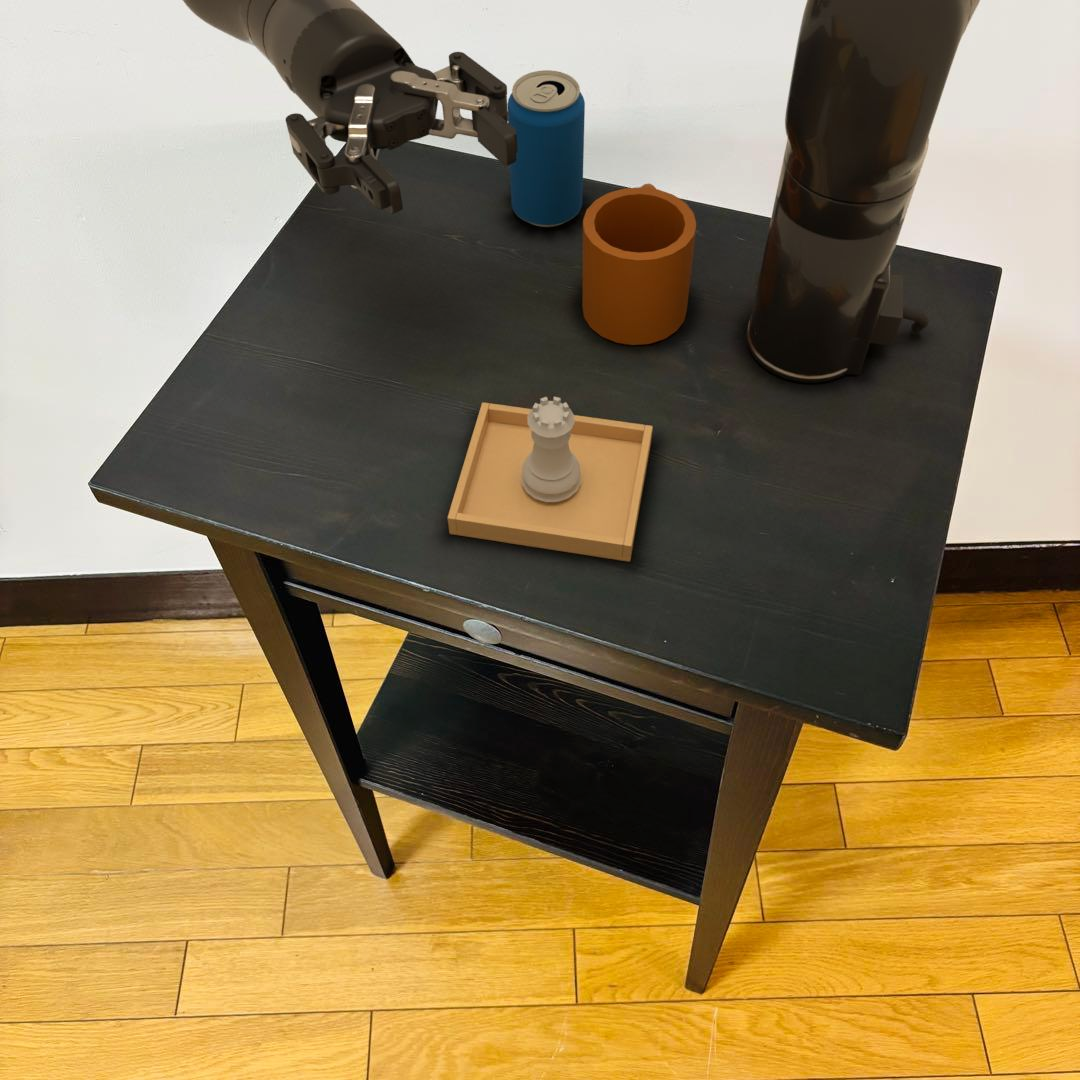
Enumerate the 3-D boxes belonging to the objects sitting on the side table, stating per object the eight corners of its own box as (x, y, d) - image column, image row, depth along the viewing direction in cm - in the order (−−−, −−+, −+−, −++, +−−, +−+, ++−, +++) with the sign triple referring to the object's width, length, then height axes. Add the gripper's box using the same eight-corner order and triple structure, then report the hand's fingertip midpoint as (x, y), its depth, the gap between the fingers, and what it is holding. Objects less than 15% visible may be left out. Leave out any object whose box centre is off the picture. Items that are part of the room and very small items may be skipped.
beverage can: (595, 202, 98) (599, 81, 88) (558, 241, 95) (558, 121, 85) (536, 179, 100) (534, 59, 90) (498, 216, 97) (491, 96, 87)
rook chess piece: (592, 474, 79) (595, 402, 73) (560, 515, 77) (561, 444, 71) (542, 450, 81) (541, 376, 74) (509, 489, 79) (505, 417, 72)
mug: (711, 266, 93) (724, 178, 86) (667, 358, 87) (677, 272, 79) (614, 241, 95) (619, 153, 88) (565, 329, 89) (565, 242, 81)
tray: (651, 442, 82) (653, 425, 80) (630, 562, 75) (631, 546, 74) (483, 419, 83) (482, 401, 82) (449, 534, 77) (447, 517, 75)
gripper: (231, 42, 70) (346, 165, 62) (417, -24, 75) (547, 83, 67) (258, 142, 76) (366, 265, 69) (428, 76, 81) (548, 185, 73)
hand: (455, 175), depth 68 cm, fingers open, 8 cm apart
